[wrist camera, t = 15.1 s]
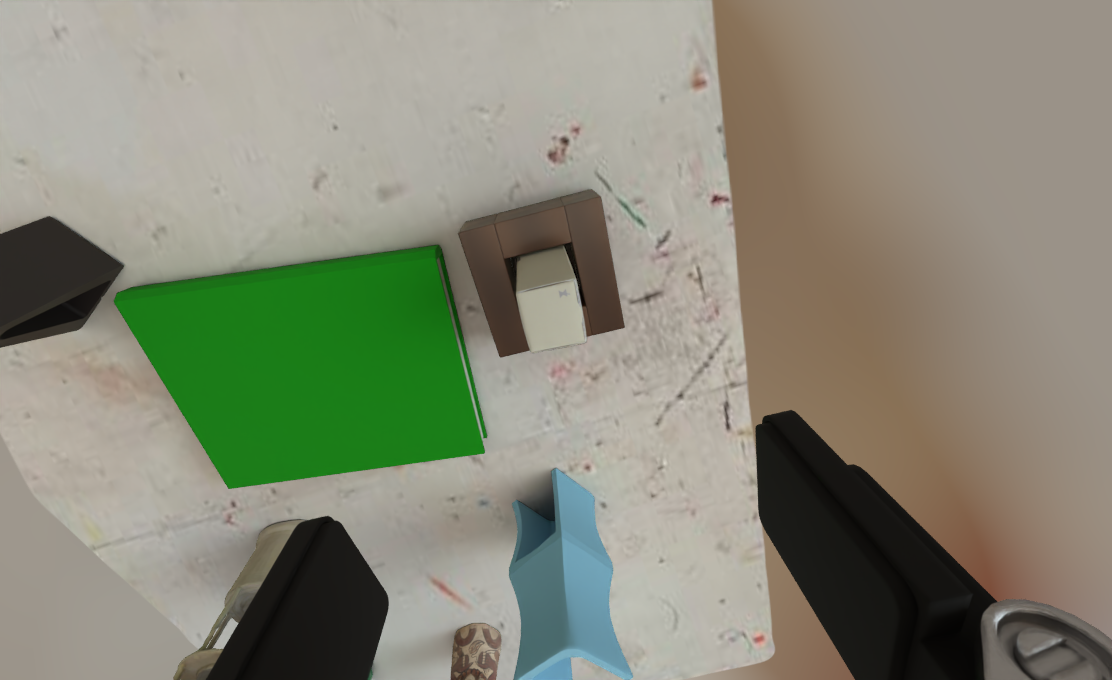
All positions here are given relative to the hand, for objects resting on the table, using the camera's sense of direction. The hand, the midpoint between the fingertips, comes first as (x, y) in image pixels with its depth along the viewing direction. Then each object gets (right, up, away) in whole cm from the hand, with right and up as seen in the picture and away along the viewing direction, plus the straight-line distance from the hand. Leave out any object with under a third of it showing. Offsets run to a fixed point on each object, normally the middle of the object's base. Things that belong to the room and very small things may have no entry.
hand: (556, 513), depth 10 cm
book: (-23, +1, +35) cm, 42 cm away
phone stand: (-44, +10, +29) cm, 54 cm away
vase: (0, -17, +45) cm, 48 cm away
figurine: (-12, -42, +56) cm, 71 cm away
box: (-1, +11, +32) cm, 34 cm away
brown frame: (-1, +11, +32) cm, 34 cm away
